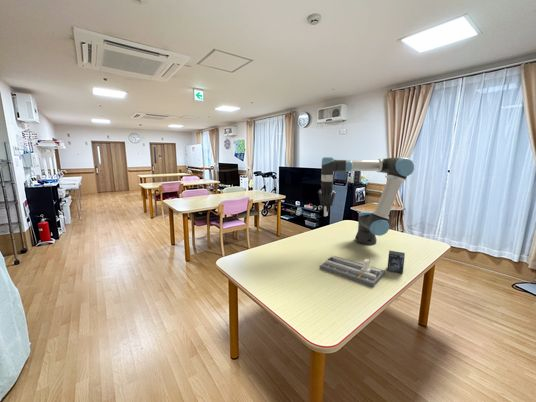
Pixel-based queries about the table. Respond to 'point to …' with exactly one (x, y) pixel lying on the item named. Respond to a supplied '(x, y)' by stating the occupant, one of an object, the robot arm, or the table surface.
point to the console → (352, 270)
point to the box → (396, 261)
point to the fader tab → (366, 266)
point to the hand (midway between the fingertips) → (325, 215)
